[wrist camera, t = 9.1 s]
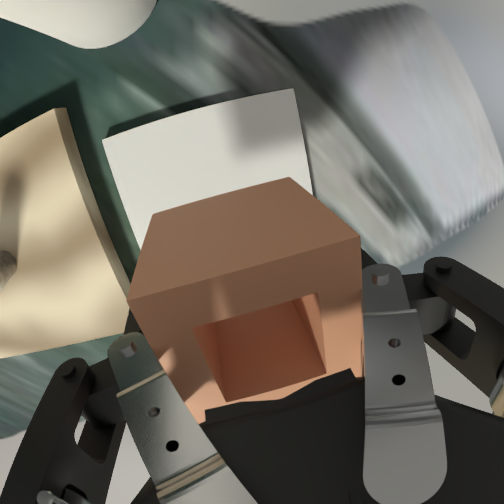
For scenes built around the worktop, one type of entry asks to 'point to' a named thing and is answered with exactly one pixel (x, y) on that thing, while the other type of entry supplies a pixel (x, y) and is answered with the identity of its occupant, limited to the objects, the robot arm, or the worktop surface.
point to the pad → (207, 154)
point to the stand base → (54, 244)
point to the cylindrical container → (80, 19)
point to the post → (6, 267)
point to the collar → (249, 294)
